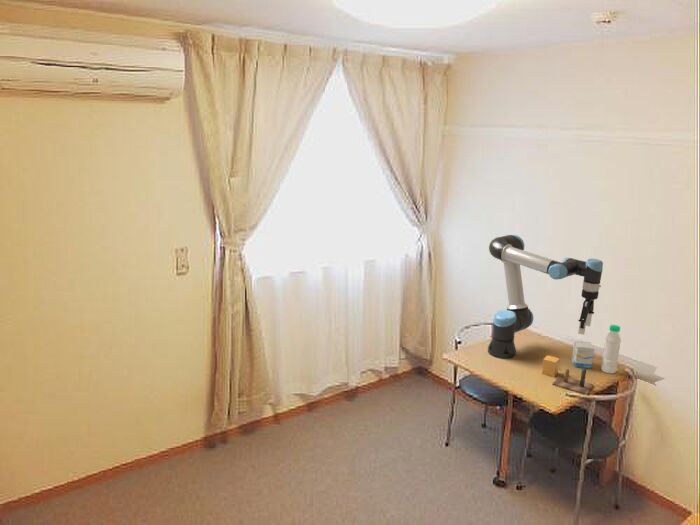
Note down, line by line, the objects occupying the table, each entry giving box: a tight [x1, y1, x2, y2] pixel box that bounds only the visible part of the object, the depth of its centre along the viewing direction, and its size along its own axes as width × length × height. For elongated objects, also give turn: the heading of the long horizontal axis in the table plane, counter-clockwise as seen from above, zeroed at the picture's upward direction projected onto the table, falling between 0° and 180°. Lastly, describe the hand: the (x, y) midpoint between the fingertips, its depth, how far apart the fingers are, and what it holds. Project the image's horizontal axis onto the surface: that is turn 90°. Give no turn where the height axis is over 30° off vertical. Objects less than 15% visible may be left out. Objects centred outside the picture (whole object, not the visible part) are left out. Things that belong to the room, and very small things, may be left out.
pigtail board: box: [552, 368, 594, 395], centre depth 253 cm, size 16×12×10 cm
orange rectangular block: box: [541, 355, 560, 378], centre depth 266 cm, size 6×6×8 cm
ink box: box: [571, 340, 595, 370], centre depth 275 cm, size 9×8×12 cm
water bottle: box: [600, 324, 622, 374], centre depth 267 cm, size 7×7×25 cm
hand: (584, 329), depth 264 cm, fingers open, 13 cm apart
